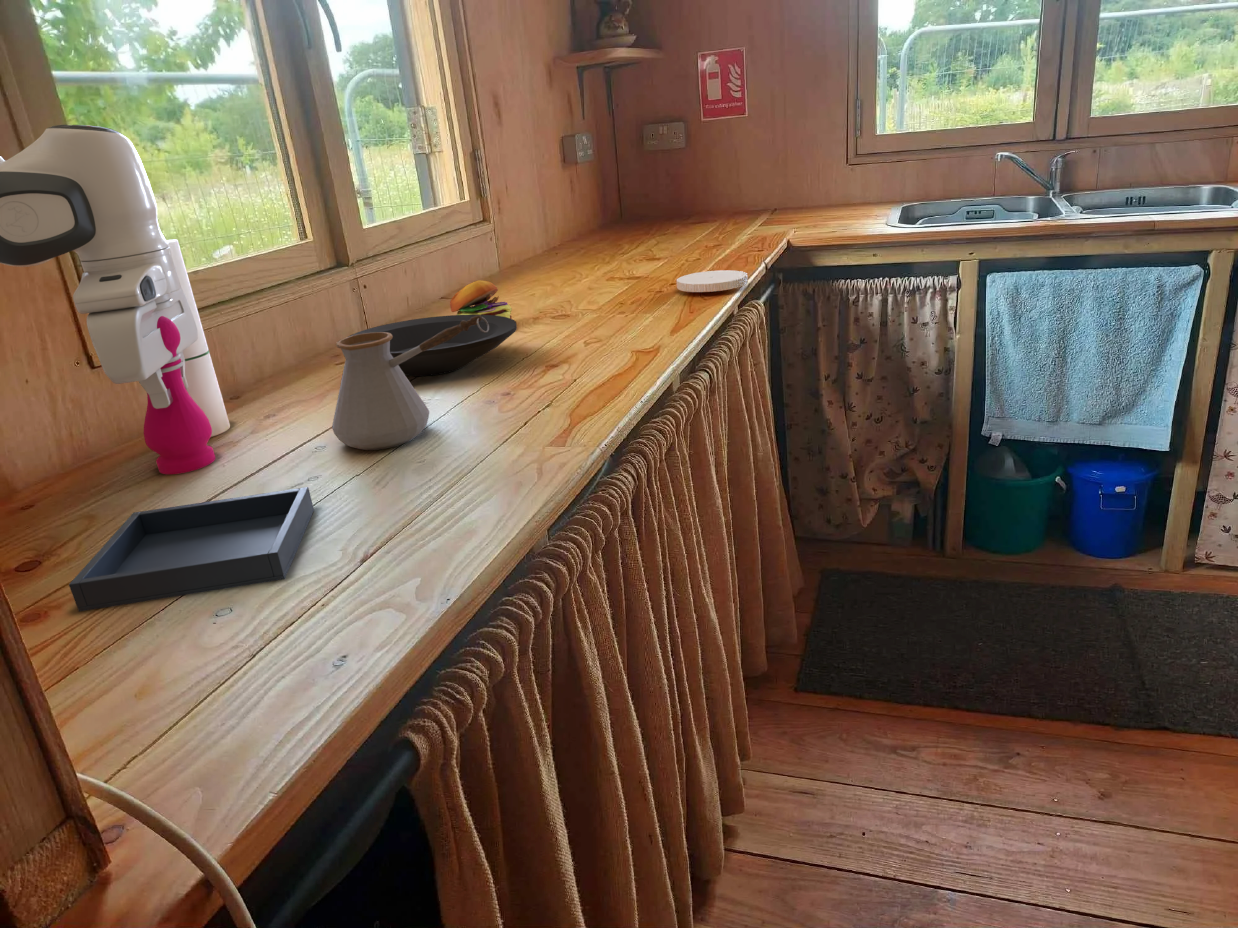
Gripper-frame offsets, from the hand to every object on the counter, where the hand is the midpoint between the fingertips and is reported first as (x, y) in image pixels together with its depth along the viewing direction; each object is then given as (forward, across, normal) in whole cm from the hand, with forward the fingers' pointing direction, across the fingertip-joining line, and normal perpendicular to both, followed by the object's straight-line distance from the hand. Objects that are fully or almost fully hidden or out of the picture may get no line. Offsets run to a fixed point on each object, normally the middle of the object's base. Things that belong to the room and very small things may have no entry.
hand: (172, 399), depth 101 cm
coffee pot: (+9, +3, +27) cm, 29 cm away
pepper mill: (+9, 0, -1) cm, 9 cm away
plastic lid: (+10, -66, +81) cm, 105 cm away
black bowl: (+9, -33, +27) cm, 44 cm away
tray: (+8, +28, +10) cm, 31 cm away
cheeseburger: (+9, -56, +35) cm, 67 cm away
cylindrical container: (+9, -13, -3) cm, 16 cm away
